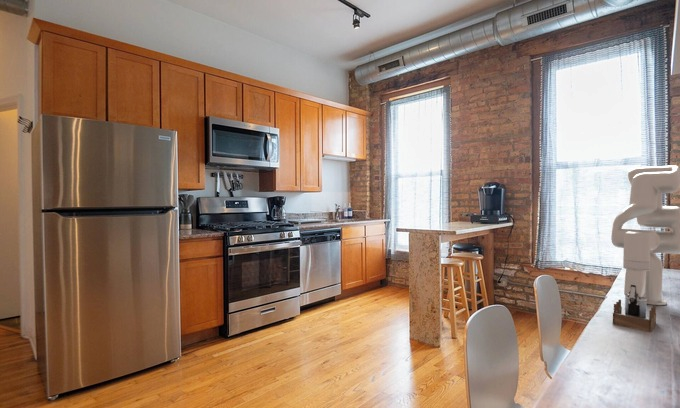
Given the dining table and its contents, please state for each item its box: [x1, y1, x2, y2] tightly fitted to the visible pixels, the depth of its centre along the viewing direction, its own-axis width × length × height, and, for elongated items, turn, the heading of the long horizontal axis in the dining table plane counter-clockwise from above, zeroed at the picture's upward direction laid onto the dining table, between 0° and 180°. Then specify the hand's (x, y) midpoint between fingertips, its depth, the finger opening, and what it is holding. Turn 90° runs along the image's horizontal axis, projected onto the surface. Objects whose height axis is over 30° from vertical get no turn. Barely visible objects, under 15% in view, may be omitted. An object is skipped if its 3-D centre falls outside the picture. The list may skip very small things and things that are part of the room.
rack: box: [612, 299, 657, 333], centre depth 129 cm, size 12×11×7 cm
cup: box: [624, 294, 647, 319], centre depth 131 cm, size 6×6×7 cm
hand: (635, 313), depth 131 cm, fingers closed on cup, 6 cm apart
